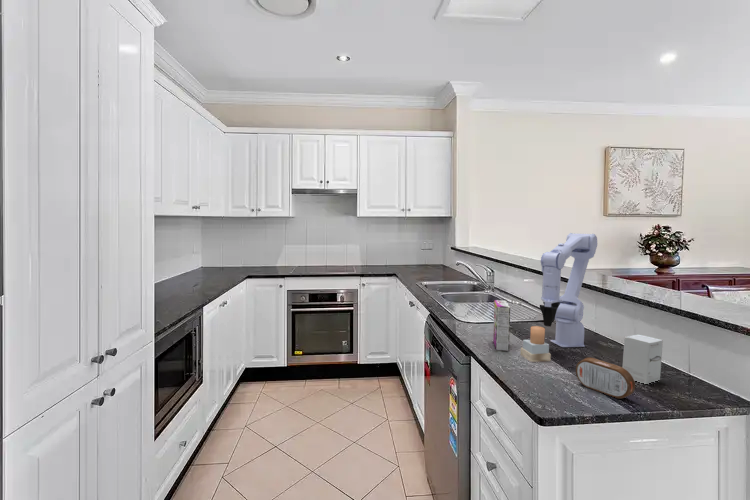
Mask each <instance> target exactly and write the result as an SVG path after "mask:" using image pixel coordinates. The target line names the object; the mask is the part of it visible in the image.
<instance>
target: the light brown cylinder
mask: <svg viewBox="0 0 750 500" xmlns="http://www.w3.org/2000/svg"><path fill="white" fill-rule="evenodd" d="M529 336H530V337H529V340H530V342H531V343H533V344H544V342H545V340H546V339H545V337H546V329H545V327H543V326H539V325H533V326H530V335H529Z"/></svg>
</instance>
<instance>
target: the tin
mask: <svg viewBox="0 0 750 500" xmlns="http://www.w3.org/2000/svg"><path fill="white" fill-rule="evenodd" d="M575 366H576V367H575V375H576V378H577V380H578V381H579V382H580V384H582V385H583V386H584V387H585V388H588V389H590V390H593V391H596V392H598V393H601V394H603V393H604V395H607V396H609V397H611V396H612V398H614V397H615V399H624V398H626V397H629V396H631V395H632V394H633V393H634V391H635V388H636V384H635V383H636V382H635V381H634V379H633V377H632V375H631V374H630V373H629V372H628V371H627V370H626V369H624V368H622V366H619V365H616V364H613V363H610V362H607V361H604V360H602V359H601V360H600V359H597V358H595V357H585V358H583V359H582V360H579V361H578V362H577V364H576V365H575Z"/></svg>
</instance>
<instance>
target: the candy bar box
mask: <svg viewBox="0 0 750 500" xmlns="http://www.w3.org/2000/svg"><path fill="white" fill-rule="evenodd" d="M510 327H511V306H510V304H509V302H508V301H507V300H502V299H501V300H500V299H495V300H493V333H492V334H493V335H492V336H493V337H492V338H493V339H492V342H493V345H494V349H495V351H498V352H500V351H501V352H509V351H510V334H511V333H510V332H511V328H510Z"/></svg>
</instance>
